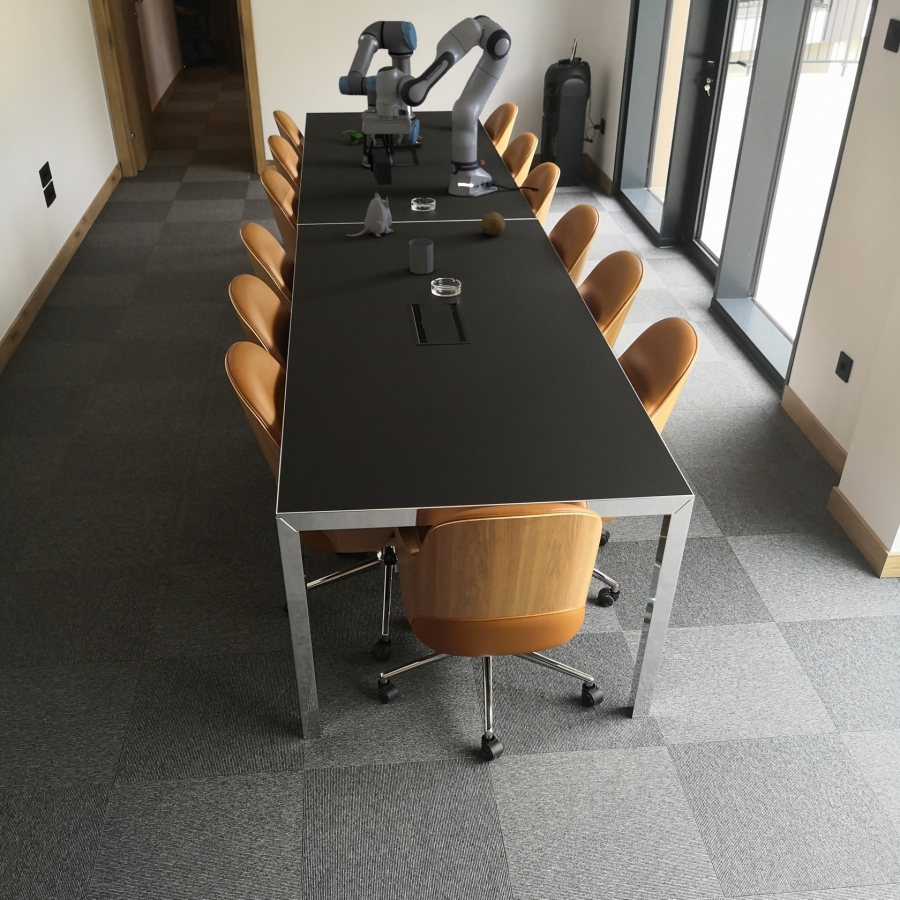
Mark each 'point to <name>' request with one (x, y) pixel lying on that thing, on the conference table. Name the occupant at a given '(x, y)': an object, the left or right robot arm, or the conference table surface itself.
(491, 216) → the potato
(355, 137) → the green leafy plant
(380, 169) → the bar
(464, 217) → the conference table surface
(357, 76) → the left robot arm
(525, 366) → the conference table surface
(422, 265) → the cup
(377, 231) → the toy
